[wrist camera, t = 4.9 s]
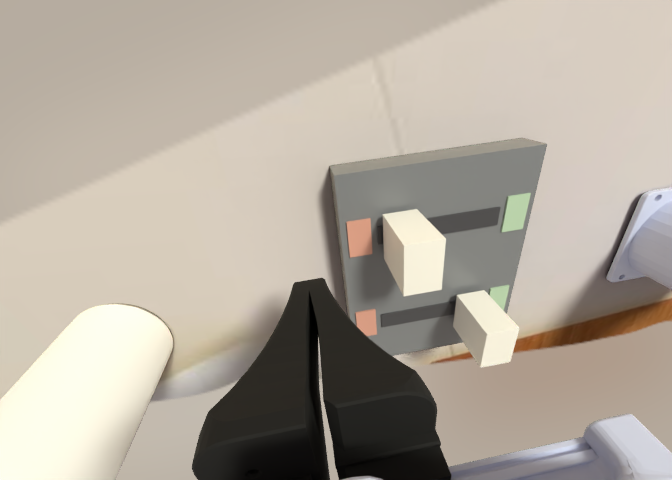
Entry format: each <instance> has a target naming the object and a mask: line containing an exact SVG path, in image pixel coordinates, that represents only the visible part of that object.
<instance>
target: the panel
mask: <svg viewBox="0 0 672 480" xmlns="http://www.w3.org/2000/svg"><path fill="white" fill-rule="evenodd" d="M546 147H547V144H545V143H541V142H537V141H533V140H529V139H525V138H518V139H511V140H504V141H497V142H490V143H483V144H476V145H469V146H463V147H456V148H449V149H442V150H435V151H428V152H421V153H414V154H407V155H401V156H394V157H387V158H380V159H373V160H366V161H359V162H352V163H345V164H339V165H332V166H330V173H331V182H332V190H333V198H334V207H335V215H336V223H337V232H338V240H339V248H340V257H341V265H342V273H343V282H344V290H345V298H346V307H347V315H348V317H349V318H350V320H351V321H352V322H353V323H354V324H355V325H356V326H357V327H358V328H359V329H360V330H361V331H362V332H363V333H364V334H365V335H366V336H367V337H368V338H369V339H371V340H372V341H373V342H374V343H376V344H377V345H378V346H379V347H381V348H382V349H383V350H384V351H385V352H387V353H388V354H390V355H391V356H394V355H399V354H404V353H410V352H415V351H420V350H425V349H431V348H436V347H441V346H447V345H452V344H457V343H462V342H463V341H462V339H461V338H460V336H459V335H458V333H457V332H456V330H455V328H454V327H453V322H454V314H455V306H456V298H457V295H460V294H465V293H471V292H476V291H482V290H485V291H486V292H487V293H488V295H489V296H490V297H491V298H492V299H493V300H494V301H495V302H496V303H497V304H498V305H499V306H500V308H501V309H502V310H503V311H504V312H505V313H506V314H507V310H508V306H509V302H510V297H511V293H512V289H513V285H514V281H515V276H516V272H517V268H518V264H519V260H520V256H521V251H522V247H523V243H524V239H525V235H526V230H527V226H528V222H529V218H530V214H531V209H532V205H533V201H534V197H535V193H536V189H537V184H538V180H539V176H540V172H541V168H542V163H543V159H544V155H545V151H546ZM413 209H417V210H418V211H419V212H420V213H421V214H422V215H423V216H424V217H425V218H426V219H427V220H428V221H429V222H430V223H431V224H432V225H433V226H434V227H435V228H436V229H437V230H438V231H439V232H440V233H441V234H442V235H443V236H444V237H445V238H446V245H445V257H444V268H443V280H442V290H437V291H432V292H426V293H420V294H415V295H409V296H403V294H402V292H401V290H400V288H399V287H398V285H397V283H396V281H395V279H394V277H393V275H392V273H391V271H390V269H389V267H388V265H387V263H386V262H385V260H384V243H383V214H388V213H394V212H401V211H407V210H413Z"/></svg>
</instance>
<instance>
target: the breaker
mask: <svg viewBox="0 0 672 480" xmlns="http://www.w3.org/2000/svg"><path fill="white" fill-rule="evenodd" d="M453 327H454V328H455V330H456V332H457V333H458V335H459V336H460V338H461V339H462V341H463V342H464V344H465V345H466V347H467V348H468V350H469V351H470V353H471V354H472V356H473V357H474V359H475V360H476V362H477V363H478V365H479V366H480V368H481V367H486V366H492V365H496V364H502V363H507V362H510V360H511V357H512V353H513V350H514V346H515V342H516V339H517V335H518V332H519V327H518V326H517V325H516V324H515V323H514V322H513V321H512V320H511V318H510V317H509V316H508V315H507V314H506V313H505V312H504V311H503V310H502V309H501V308H500V306H499V305H498V304H497V303H496V302H495V301H494V300H493V299H492V298H491V297H490V296H489V295H488V293H487V292H486V291H485V290H482V291H476V292H471V293H465V294H460V295H457V298H456V306H455V314H454V322H453Z"/></svg>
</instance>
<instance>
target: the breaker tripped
mask: <svg viewBox="0 0 672 480" xmlns="http://www.w3.org/2000/svg"><path fill="white" fill-rule="evenodd" d="M383 243H384V260H385V262H386V263H387V265H388V267H389V269H390V271H391V273H392V275H393V277H394V279H395V281H396V283H397V285H398V287H399V288H400V290H401V292H402V294H403V296H409V295H415V294H420V293H426V292H432V291H437V290H442V280H443V268H444V257H445V245H446V238H445V237H444V236H443V235H442V234H441V233H440V232H439V231H438V230H437V229H436V228H435V227H434V226H433V225H432V224H431V223H430V222H429V221H428V220H427V219H426V218H425V217H424V216H423V215H422V214H421V213H420V212H419V211H418V210H417V209H413V210H407V211H401V212H394V213H388V214H383Z"/></svg>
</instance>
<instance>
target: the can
mask: <svg viewBox="0 0 672 480" xmlns="http://www.w3.org/2000/svg"><path fill="white" fill-rule="evenodd" d="M172 349H173V339H172V335H171V333H170V331H169V329H168V327H167V326H166V324H165V323H164V322H163V321H162V320H161V319H160V318H159V317H158V316H156V315H155V314H153V313H152V312H150V311H148V310H146V309H143V308H140V307H137V306H133V305H128V304H107V305H100V306H96V307H92V308H90V309H87V310H85V311H84V312H82V313H81V314H79V315H78V316H77V317H76V318H75V319H74V320H73V321H72V322H71V323H70V324H69V325H68V326H67V328H66V329H65V330H64V331H63V332H62V333H61V334H60V335H59V336H58V337H57V338H56V339H55V341H54V342H53V343H52V344H51V345H50V346H49V347H48V348H47V349H46V350H45V352H44V353H43V354H42V355H41V356H40V357H39V358H38V359H37V360H36V361H35V363H34V364H33V365H32V366H31V367H30V368H29V369H28V370H27V371H26V372H25V374H24V375H23V376H22V377H21V378H20V379H19V380H18V381H17V382H16V383H15V385H14V386H13V387H12V388H11V389H10V390H9V391H8V392H7V393H6V394H5V396H4V397H3V398H2V399H1V400H0V480H115V479H116V477H117V475H118V472H119V470H120V468H121V466H122V463H123V461H124V459H125V457H126V455H127V452H128V450H129V448H130V446H131V443H132V441H133V439H134V437H135V434H136V432H137V430H138V428H139V425H140V423H141V421H142V418H143V416H144V414H145V412H146V409H147V407H148V405H149V403H150V400H151V398H152V396H153V393H154V391H155V389H156V387H157V384H158V382H159V380H160V377H161V375H162V373H163V371H164V368H165V366H166V364H167V361H168V359H169V357H170V354H171V352H172Z"/></svg>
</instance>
